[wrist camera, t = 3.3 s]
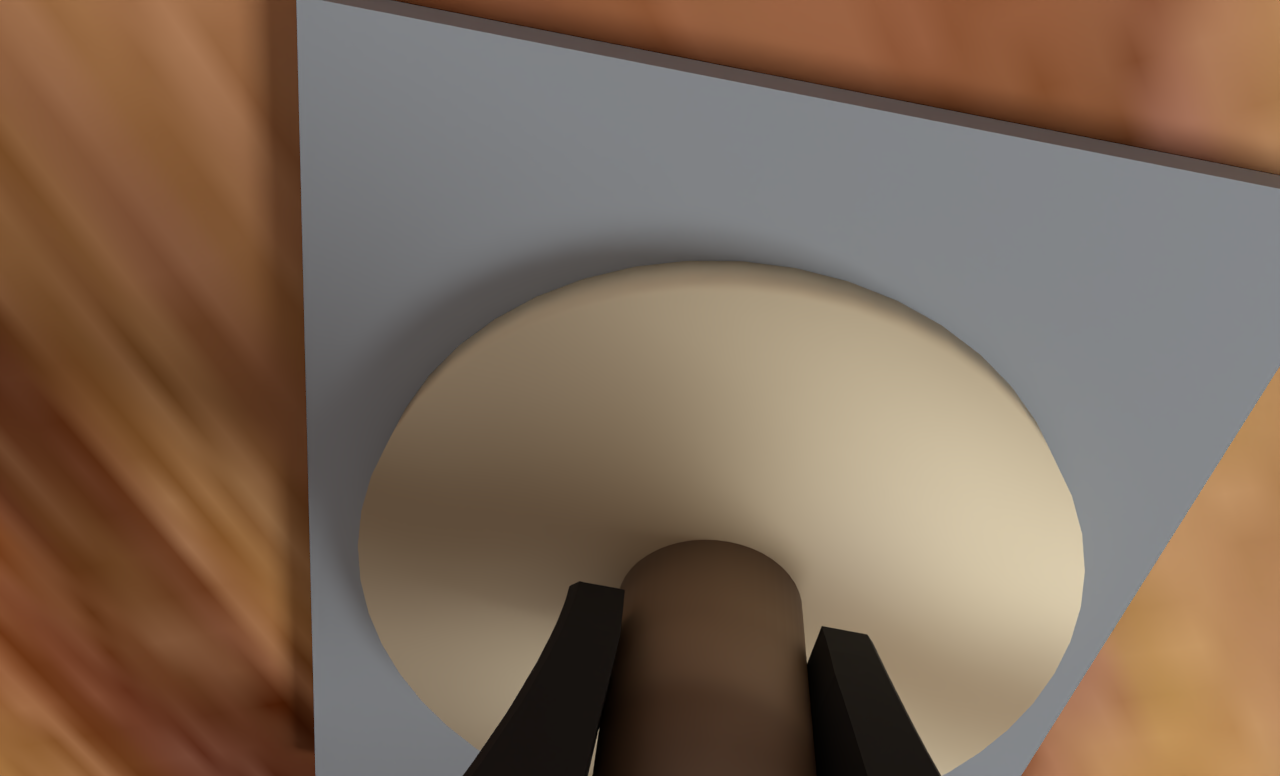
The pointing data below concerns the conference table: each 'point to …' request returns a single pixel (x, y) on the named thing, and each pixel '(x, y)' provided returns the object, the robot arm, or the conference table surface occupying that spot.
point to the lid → (723, 516)
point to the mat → (759, 233)
